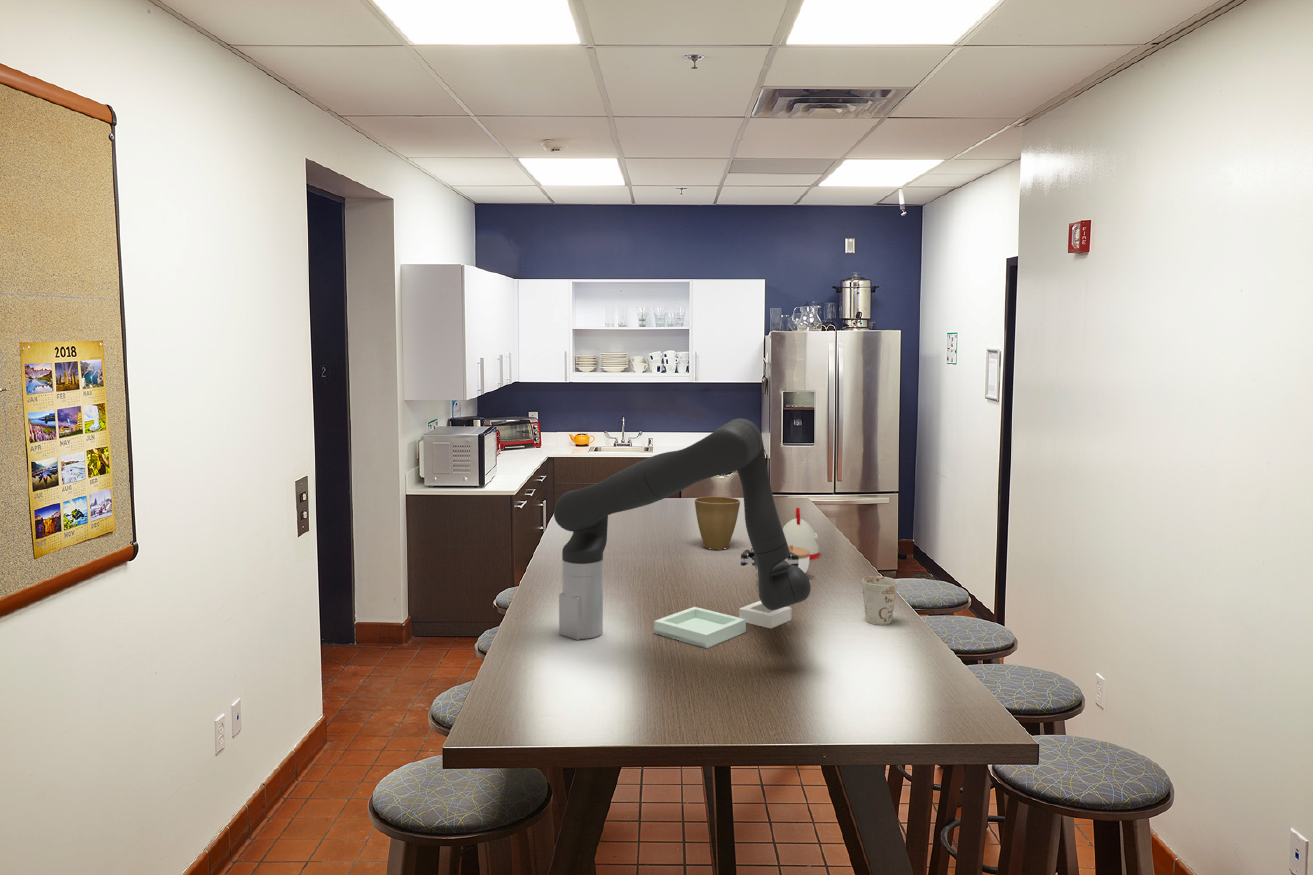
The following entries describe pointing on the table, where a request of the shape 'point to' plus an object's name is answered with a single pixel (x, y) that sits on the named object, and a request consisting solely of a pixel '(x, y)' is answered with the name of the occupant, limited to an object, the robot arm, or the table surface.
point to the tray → (700, 627)
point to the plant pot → (716, 520)
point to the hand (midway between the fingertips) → (764, 550)
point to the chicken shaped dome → (801, 535)
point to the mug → (879, 599)
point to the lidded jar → (801, 557)
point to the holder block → (764, 615)
